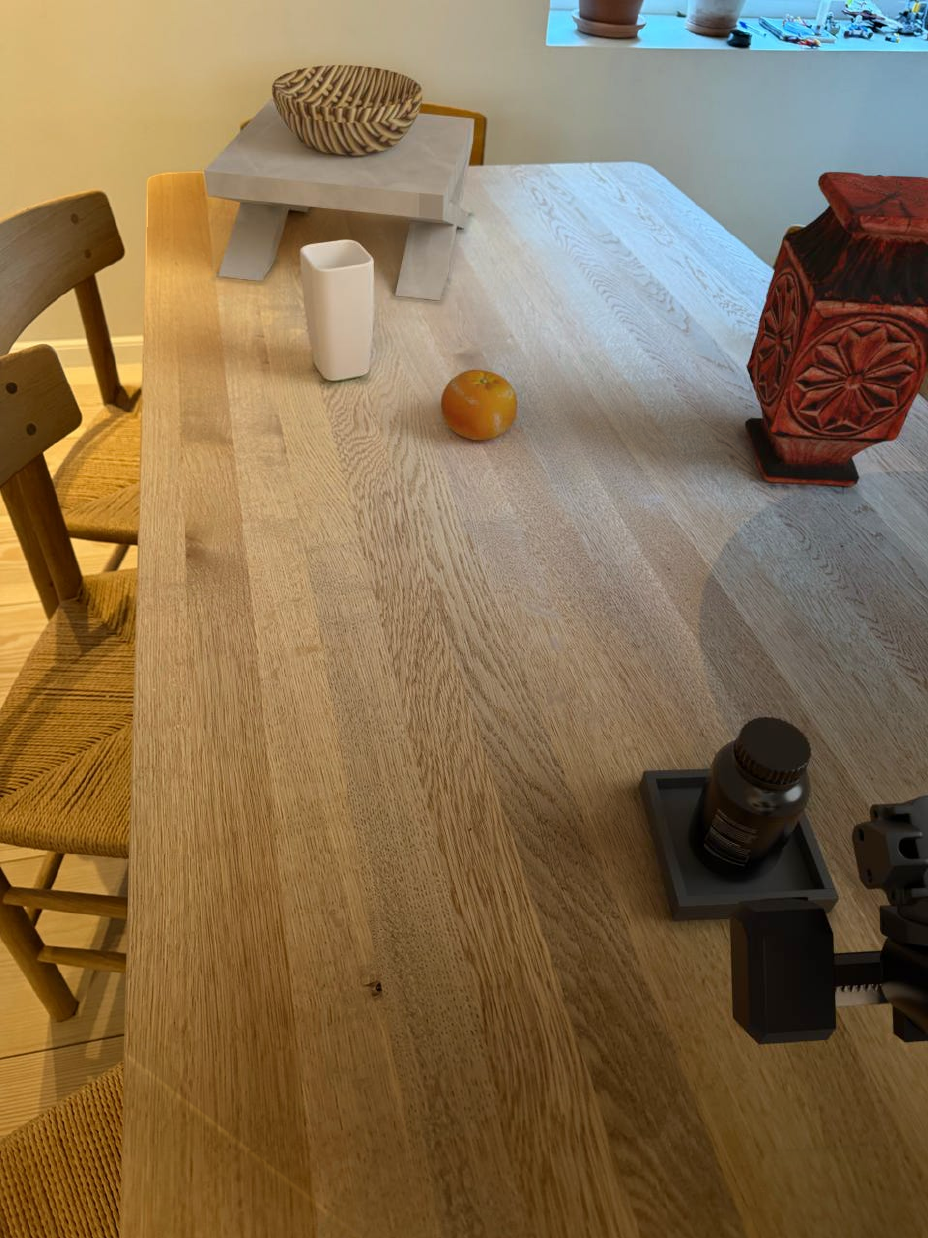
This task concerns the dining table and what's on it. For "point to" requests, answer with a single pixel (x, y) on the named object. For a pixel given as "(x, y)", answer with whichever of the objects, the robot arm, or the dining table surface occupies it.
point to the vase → (842, 330)
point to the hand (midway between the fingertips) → (841, 911)
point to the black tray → (700, 888)
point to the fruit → (479, 405)
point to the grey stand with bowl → (346, 168)
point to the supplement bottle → (752, 800)
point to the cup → (339, 307)
